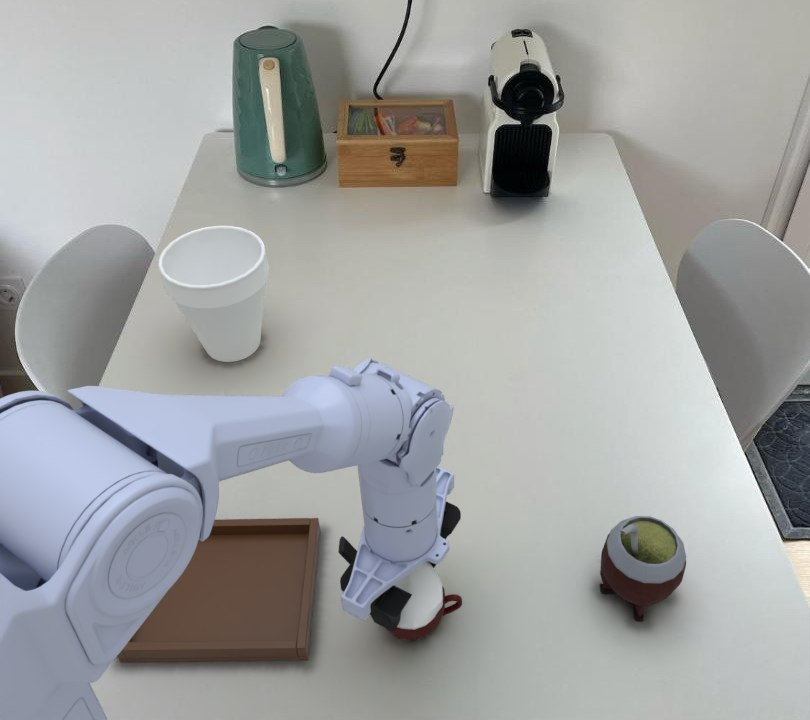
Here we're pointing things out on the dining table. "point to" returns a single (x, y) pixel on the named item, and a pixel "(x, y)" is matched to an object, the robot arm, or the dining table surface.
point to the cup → (219, 287)
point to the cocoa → (416, 598)
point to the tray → (237, 597)
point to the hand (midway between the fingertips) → (405, 593)
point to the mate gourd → (642, 562)
